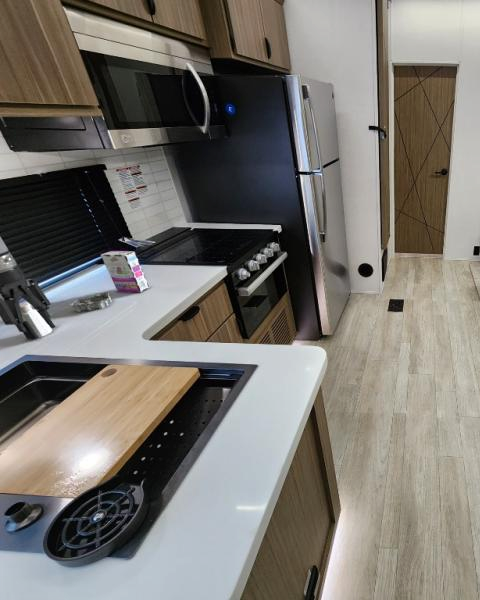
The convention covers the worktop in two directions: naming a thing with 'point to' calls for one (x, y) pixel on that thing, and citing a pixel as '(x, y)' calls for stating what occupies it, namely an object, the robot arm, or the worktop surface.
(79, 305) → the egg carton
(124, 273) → the candy bar box
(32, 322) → the pepper shaker
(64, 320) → the worktop surface
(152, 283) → the worktop surface
